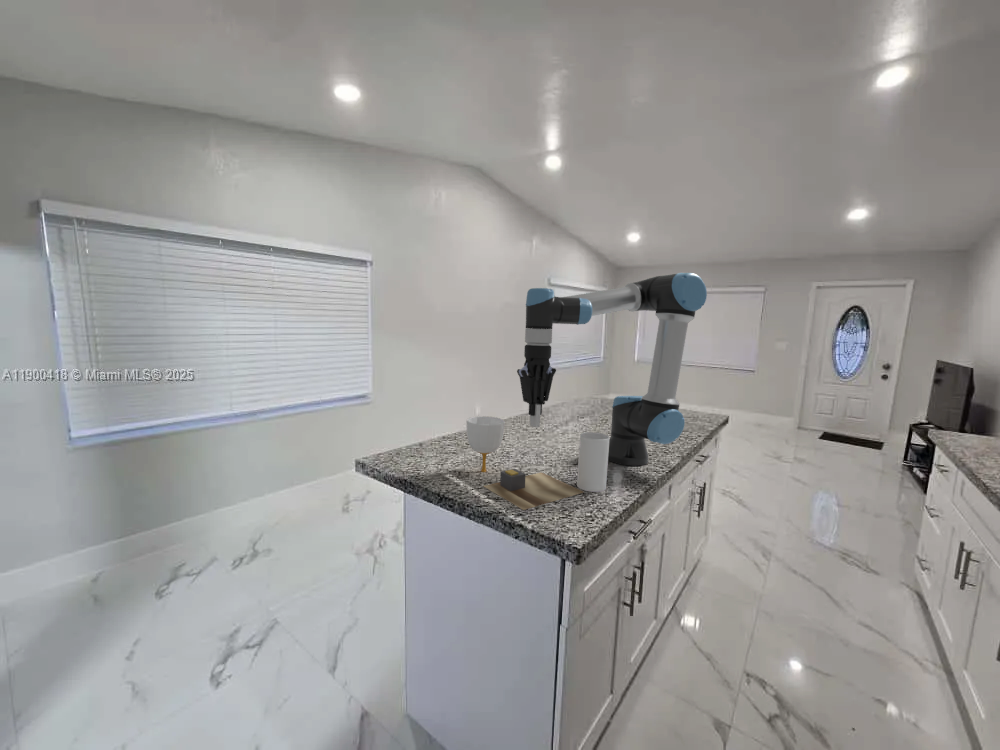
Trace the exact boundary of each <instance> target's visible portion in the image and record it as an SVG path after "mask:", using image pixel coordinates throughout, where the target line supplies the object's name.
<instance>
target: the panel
mask: <svg viewBox="0 0 1000 750" xmlns="http://www.w3.org/2000/svg"><path fill="white" fill-rule="evenodd" d="M483 487H484V488H486V489H488V490H489V491H490V492H492V493H493V494H495V495H498V496H499V497H501V499H504V500H506V501H508V502H509V503H511V504H512V505H514V506H515V507H518V508H519V509H520V510H523V511H526V510H529V509H531V508H532V509H533V508H535V507H539V506H543V505H545V504H546V505H547V504H549V503H553V502H556V501H560V500H563V499H566V498H570V497H573V496H577V495H580V494H584V493H585V491H584V490H582V489H580V488H577V487H574V486H572V485H571V484H569V483H566V482H564V481H561V480H559V479H558V478H556V477H553V476H550V475H548V474H546V473H544V472H542V471H541V472H537V473H533V474H529V475H528V474H527V475H526V476H525V488H522V489H518V490H514V491H509V490H508V489H506V488H504V487H502V486H501V485H500V481H499V482H494V483H490V484H486V485H483Z"/></svg>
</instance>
